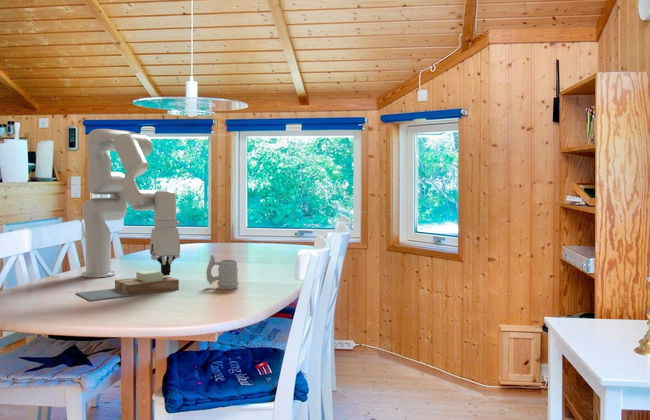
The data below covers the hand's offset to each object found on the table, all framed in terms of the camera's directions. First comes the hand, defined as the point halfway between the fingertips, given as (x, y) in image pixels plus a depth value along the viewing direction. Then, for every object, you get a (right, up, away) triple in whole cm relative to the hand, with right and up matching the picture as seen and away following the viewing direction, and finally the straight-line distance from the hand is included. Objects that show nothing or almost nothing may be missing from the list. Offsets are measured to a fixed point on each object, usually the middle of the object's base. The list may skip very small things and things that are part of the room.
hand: (165, 274), depth 204 cm
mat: (-17, -5, -14) cm, 23 cm away
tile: (-5, 0, -4) cm, 6 cm away
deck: (-5, -5, -4) cm, 8 cm away
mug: (+21, -5, +1) cm, 21 cm away
